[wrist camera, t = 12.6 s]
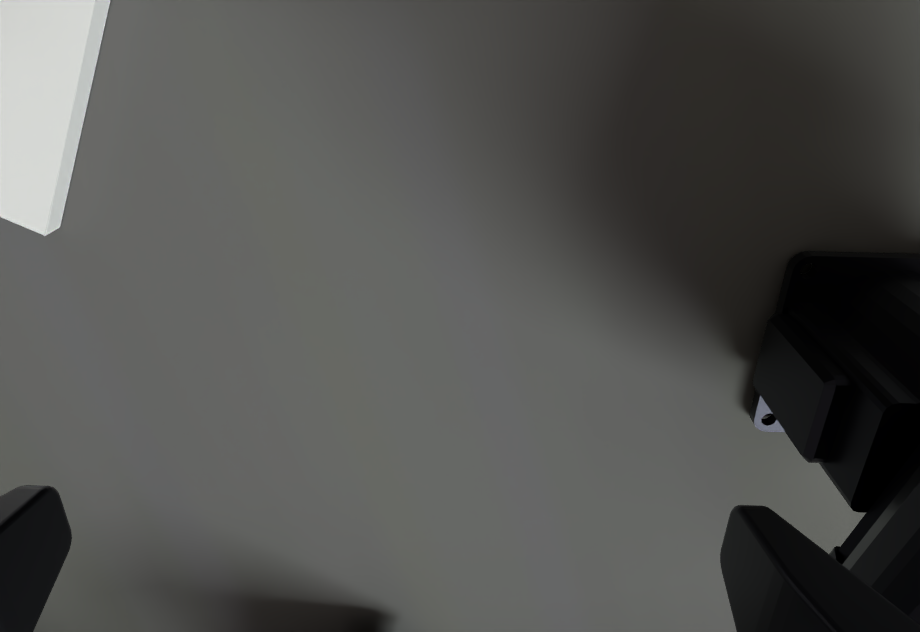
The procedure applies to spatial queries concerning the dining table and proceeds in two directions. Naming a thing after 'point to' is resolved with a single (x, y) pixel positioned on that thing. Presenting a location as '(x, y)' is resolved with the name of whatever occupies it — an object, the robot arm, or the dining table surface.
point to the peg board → (44, 102)
